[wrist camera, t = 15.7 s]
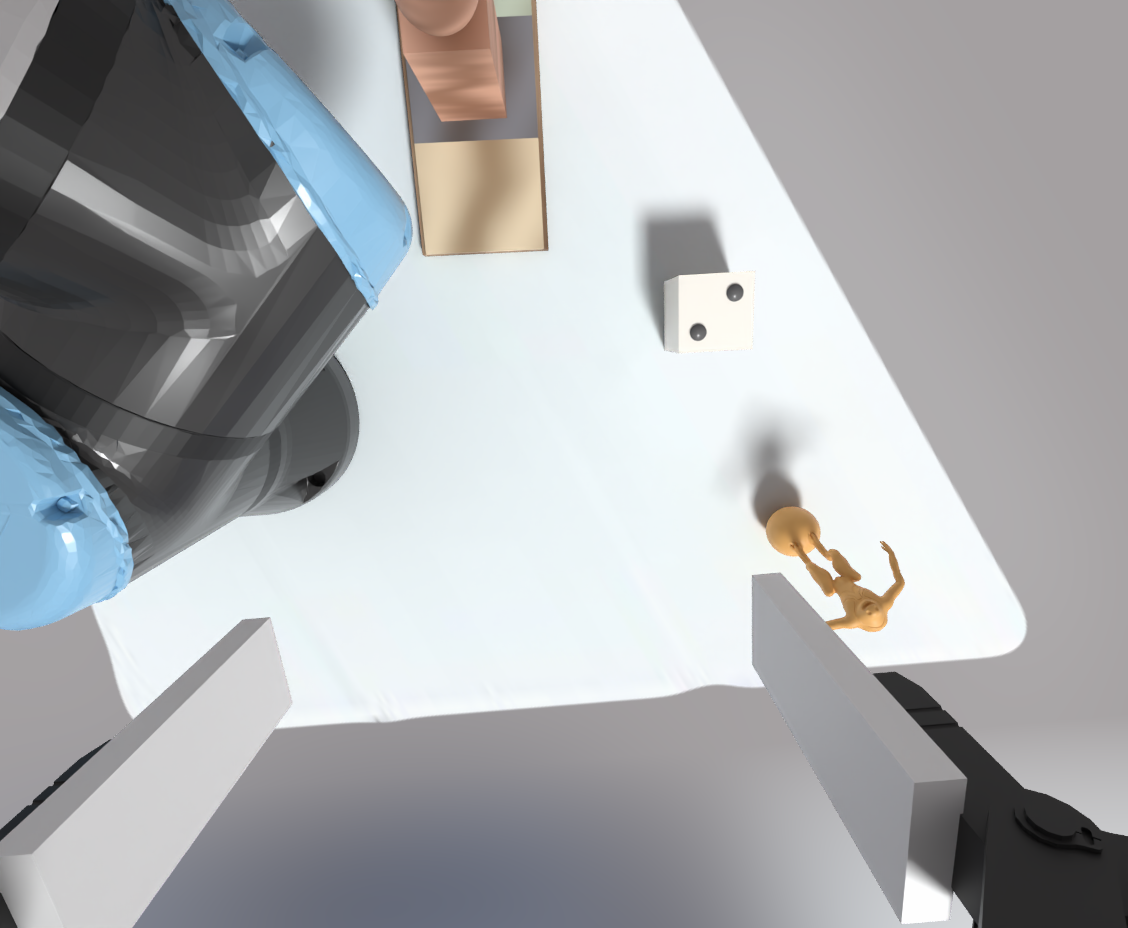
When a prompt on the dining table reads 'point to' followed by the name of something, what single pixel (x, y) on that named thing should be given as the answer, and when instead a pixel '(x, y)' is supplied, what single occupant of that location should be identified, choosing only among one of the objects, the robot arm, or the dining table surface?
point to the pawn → (455, 56)
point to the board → (484, 156)
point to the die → (709, 312)
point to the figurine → (800, 535)
